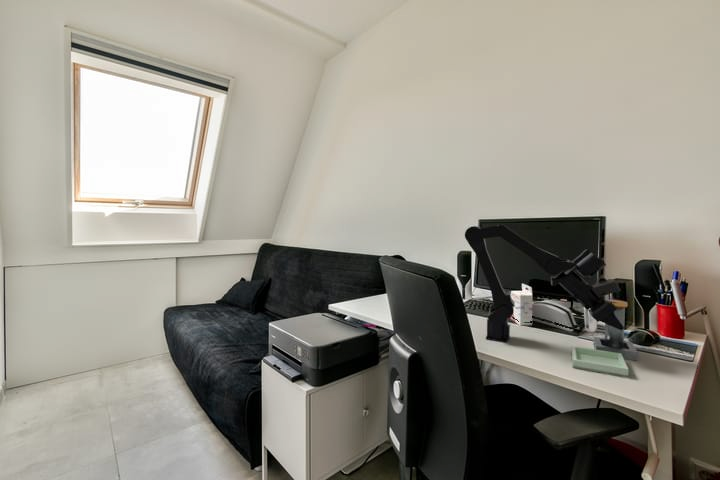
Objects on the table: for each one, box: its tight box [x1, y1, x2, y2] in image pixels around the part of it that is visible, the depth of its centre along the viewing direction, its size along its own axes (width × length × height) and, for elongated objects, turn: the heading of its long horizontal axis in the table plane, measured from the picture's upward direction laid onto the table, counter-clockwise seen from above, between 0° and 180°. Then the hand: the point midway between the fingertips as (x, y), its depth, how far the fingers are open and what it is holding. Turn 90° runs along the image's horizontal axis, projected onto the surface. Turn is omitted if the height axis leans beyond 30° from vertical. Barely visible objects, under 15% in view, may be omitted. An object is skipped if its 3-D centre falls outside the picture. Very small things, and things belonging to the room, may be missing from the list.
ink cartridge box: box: [510, 283, 533, 326], centre depth 130 cm, size 9×5×15 cm, turn 179°
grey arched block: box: [532, 300, 580, 332], centre depth 126 cm, size 17×5×10 cm, turn 23°
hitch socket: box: [592, 336, 639, 362], centre depth 99 cm, size 10×10×2 cm
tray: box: [571, 345, 629, 379], centre depth 91 cm, size 12×12×2 cm
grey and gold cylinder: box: [604, 299, 628, 348], centre depth 99 cm, size 6×6×15 cm
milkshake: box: [583, 307, 598, 333], centre depth 119 cm, size 4×5×10 cm
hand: (620, 326), depth 98 cm, fingers closed on grey and gold cylinder, 4 cm apart
